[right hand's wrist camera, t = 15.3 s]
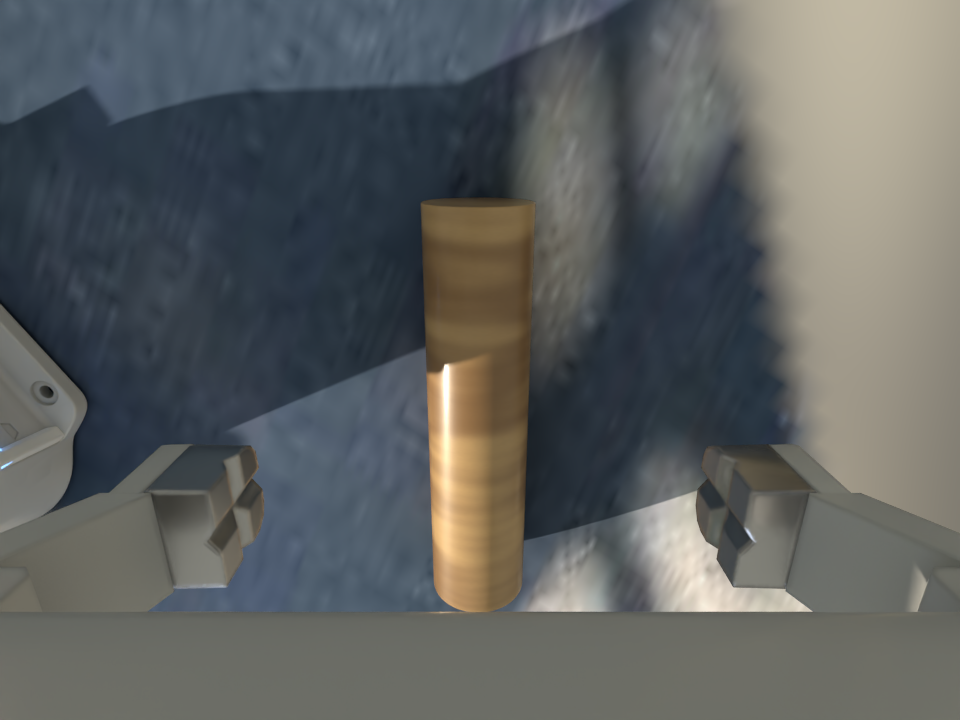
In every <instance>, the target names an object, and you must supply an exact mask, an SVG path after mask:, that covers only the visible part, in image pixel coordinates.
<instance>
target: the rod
mask: <svg viewBox="0 0 960 720" xmlns="http://www.w3.org/2000/svg"><path fill="white" fill-rule="evenodd" d="M535 206H536V204H535V202H534V201H530V200H524V199H512V198H443V199H432V200H426V201H422V202H421V226H422V255H423V283H424V311H425V339H426V368H427V396H428V424H429V452H430V481H431V509H432V537H433V565H434V584H435V588H436V591H437V593H438V594H439V596H440V597H441V598H442V599H443V600H444V601H445V602H446V603H448V604H449V605H451V606H453V607H455V608H457V609H460V610H463V611H467V612H489V611H493V610H497V609H499V608H502V607H504V606H505V605H507V604H508V603H510V602H511V601H512V600H513V599H514V598H515V597H516V596H517V595H518V593H519V591H520V589H521V586H522V573H523V545H524V517H525V489H526V460H527V432H528V404H529V375H530V347H531V319H532V291H533V262H534V234H535Z"/></svg>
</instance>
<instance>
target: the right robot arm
mask: <svg viewBox="0 0 960 720" xmlns="http://www.w3.org/2000/svg"><path fill="white" fill-rule="evenodd" d="M48 387H50V388H51V389H52V390H53V392H51V391H50V390H49V388H48ZM86 411H87V401H86V398H85V396H84V394H83V393H82V392H81V391H80V390H79V388H78V387H77V386H76V385H75V384H74V383H73V382H72V381H71V380H70V379H69V378H68V377H67V375H66V374H65V373H64V372H63V371H62V370H61V369H60V368H59V367H58V366H57V365H56V364H55V362H54V361H53V360H52V359H51V358H50V357H49V356H48V355H47V354H46V353H45V352H44V351H43V349H42V348H41V347H40V346H39V345H38V344H37V343H36V342H35V341H34V340H33V339H32V338H31V336H30V335H29V334H28V333H27V332H26V331H25V330H24V329H23V328H22V327H21V326H20V325H19V324H18V322H17V321H16V320H15V319H14V318H13V317H12V316H11V315H10V314H9V313H8V312H7V311H6V309H5V308H4V307H3V306H2V305H1V304H0V720H960V533H958V532H956V531H953V530H951V529H948V528H946V527H943V526H941V525H938V524H936V523H933V522H931V521H928V520H926V519H923V518H921V517H919V516H916V515H914V514H911V513H909V512H906V511H904V510H901V509H899V508H896V507H894V506H891V505H889V504H886V503H884V502H881V501H879V500H877V499H874V498H872V497H869V496H867V495H864V494H862V493H851V492H850V491H848V490H847V489H846V488H845V487H844V486H843V485H842V484H841V483H840V482H838V481H837V480H836V479H835V478H834V477H833V476H832V475H831V474H830V473H829V472H827V471H826V470H825V469H824V468H823V467H822V466H821V465H820V464H819V463H817V462H816V461H815V460H814V459H813V458H812V457H811V456H810V455H809V454H807V453H806V452H805V451H804V450H803V449H802V448H801V447H800V446H797V445H794V444H776V445H768V444H766V445H725V446H710V447H707V448H706V451H705V453H704V455H703V460H702V466H701V468H702V470H703V471H704V473H705V474H706V476H707V477H708V479H707V480H706V481H705V482H704V483H703V484H702V485H701V486H700V487H699V488H698V491H697V499H696V513H697V521H698V525H699V528H700V531H701V533H702V535H703V536H704V538H705V540H706V542H708V543H710V544H711V545H713V546H714V547H716V548H718V554H717V561H718V562H719V564H720V566H721V567H722V569H723V571H724V572H725V574H726V576H727V577H728V579H729V581H730V582H731V584H732V586H733V587H741V588H778V589H786V592H788V593H789V594H790V595H792V596H793V597H794V598H796V599H797V600H798V601H800V602H801V603H802V604H804V605H805V606H806V607H808V608H809V609H810V610H812V611H813V612H147V611H148V610H150V609H151V608H152V607H154V606H155V605H156V604H158V603H159V602H161V601H162V600H163V599H165V598H166V597H167V596H169V595H170V594H171V593H173V592H174V589H182V588H218V587H227V586H228V584H229V583H230V581H231V579H232V577H233V576H234V574H235V572H236V571H237V569H238V567H239V566H240V564H241V562H242V561H243V554H242V548H244V547H246V546H247V545H249V544H250V543H252V542H254V540H255V538H256V536H257V535H258V533H259V531H260V528H261V524H262V520H263V516H264V498H263V491H262V488H261V487H260V486H259V485H258V484H257V483H256V482H255V481H254V480H253V479H252V477H253V476H254V474H255V473H256V471H257V470H258V468H259V466H258V461H257V456H256V451H255V450H254V449H253V448H252V447H251V446H248V445H194V444H172V445H162V446H160V447H159V448H158V449H157V450H156V451H155V452H154V453H153V454H152V455H150V456H149V457H148V458H147V459H146V460H145V461H144V462H143V463H142V464H140V465H139V466H138V467H137V468H136V469H135V470H134V471H133V472H132V473H130V474H129V475H128V476H127V477H126V478H125V479H124V480H123V481H122V482H120V483H119V484H118V485H117V486H116V487H115V488H114V489H113V490H112V491H110V492H109V493H98V494H96V495H93V496H91V497H88V498H86V499H83V500H81V501H78V502H76V503H74V504H71V505H69V506H66V507H64V508H61V509H59V510H56V511H54V512H51V513H49V514H46V515H44V514H45V513H47V512H48V511H49V510H51V509H52V508H53V507H54V506H55V505H56V504H57V503H58V502H59V500H60V499H61V498H62V496H63V495H64V493H65V491H66V489H67V487H68V484H69V482H70V478H71V474H72V468H73V439H74V435H75V433H76V432H77V430H78V428H79V426H80V425H81V423H82V421H83V419H84V417H85V414H86ZM42 515H44V516H42ZM40 516H41V517H40Z"/></svg>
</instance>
